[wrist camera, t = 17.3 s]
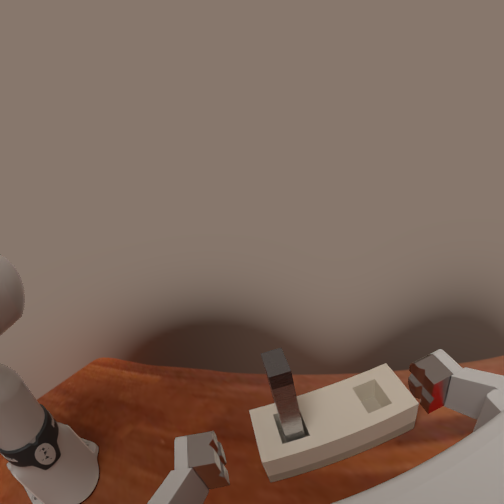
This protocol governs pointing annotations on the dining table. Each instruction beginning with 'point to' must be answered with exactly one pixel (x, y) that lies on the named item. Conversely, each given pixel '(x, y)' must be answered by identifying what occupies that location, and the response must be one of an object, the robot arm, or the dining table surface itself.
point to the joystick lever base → (336, 423)
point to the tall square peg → (283, 394)
